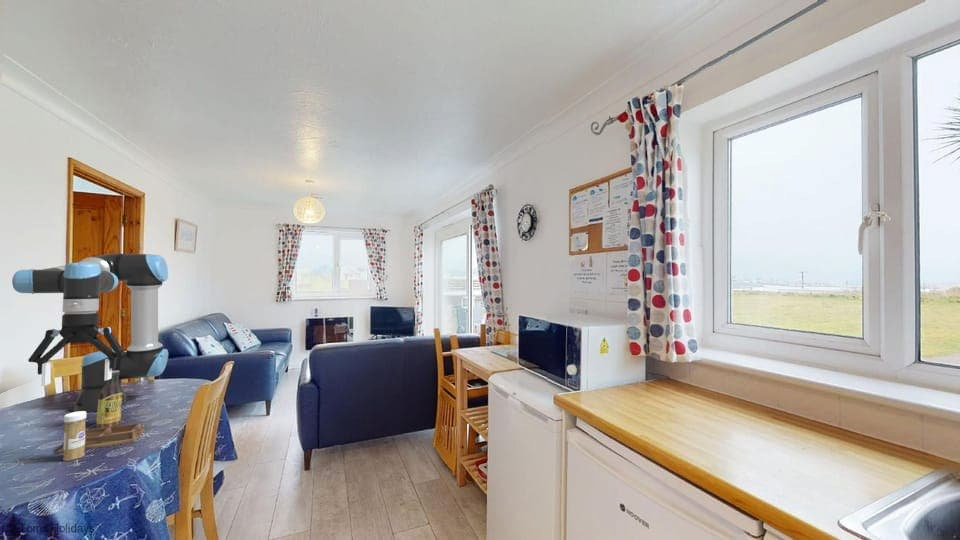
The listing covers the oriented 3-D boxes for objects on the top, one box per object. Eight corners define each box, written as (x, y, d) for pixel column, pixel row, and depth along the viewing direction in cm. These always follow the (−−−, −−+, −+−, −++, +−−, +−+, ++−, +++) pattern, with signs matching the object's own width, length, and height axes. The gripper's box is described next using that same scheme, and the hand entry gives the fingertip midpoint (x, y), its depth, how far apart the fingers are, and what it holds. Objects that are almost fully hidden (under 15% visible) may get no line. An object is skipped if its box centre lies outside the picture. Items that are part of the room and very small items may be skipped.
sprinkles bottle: (76, 460, 107) (78, 415, 108) (57, 462, 106) (59, 416, 107) (89, 453, 112) (90, 409, 112) (71, 454, 111) (72, 411, 111)
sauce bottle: (104, 430, 128) (106, 374, 128) (91, 428, 129) (93, 373, 129) (126, 423, 134) (127, 370, 135) (113, 421, 136) (114, 369, 136)
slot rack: (76, 438, 121) (77, 429, 121) (146, 428, 130) (146, 420, 130) (55, 454, 111) (56, 444, 111) (133, 442, 119) (133, 433, 119)
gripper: (12, 315, 102) (8, 390, 101) (129, 312, 113) (127, 380, 112) (29, 313, 108) (26, 384, 108) (138, 310, 120) (136, 374, 119)
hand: (77, 382), depth 110 cm, fingers open, 13 cm apart
